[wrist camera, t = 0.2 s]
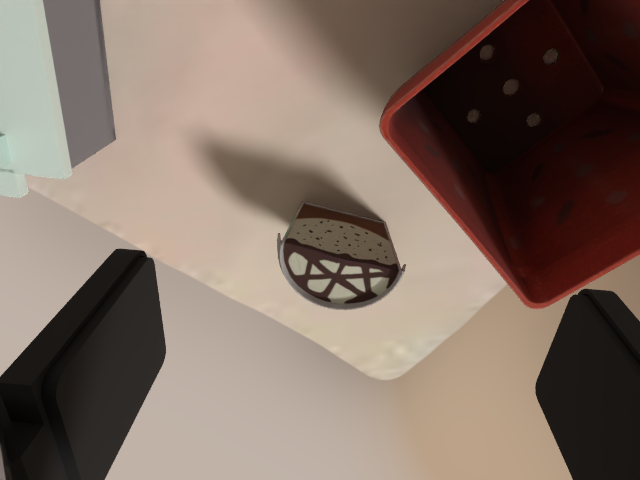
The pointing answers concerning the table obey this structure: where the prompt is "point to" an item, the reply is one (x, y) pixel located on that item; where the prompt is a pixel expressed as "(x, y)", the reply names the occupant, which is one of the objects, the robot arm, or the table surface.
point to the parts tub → (81, 75)
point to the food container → (338, 258)
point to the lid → (28, 100)
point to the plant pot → (534, 141)
